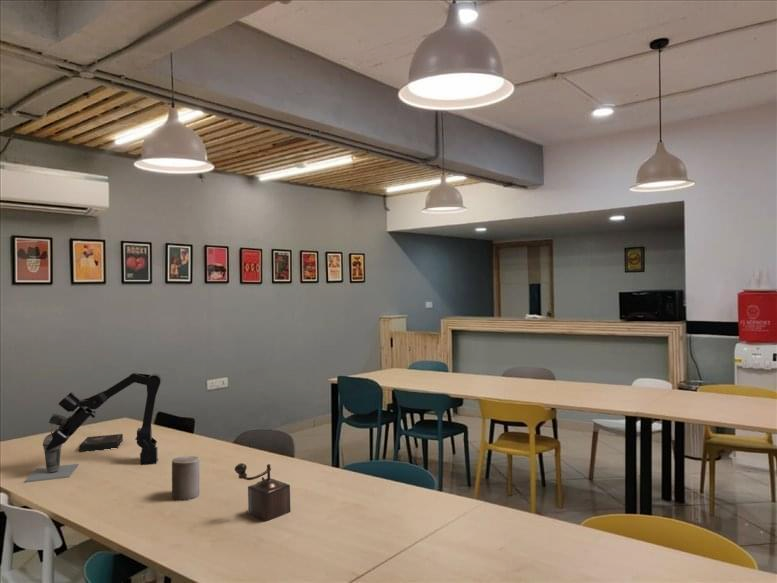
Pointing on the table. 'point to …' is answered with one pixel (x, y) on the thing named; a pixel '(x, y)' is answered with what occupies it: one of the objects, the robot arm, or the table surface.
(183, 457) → the pillar candle
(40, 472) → the rubber mat
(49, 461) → the beverage cup
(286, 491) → the manual coffee grinder
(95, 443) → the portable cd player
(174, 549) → the table surface
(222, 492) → the table surface
